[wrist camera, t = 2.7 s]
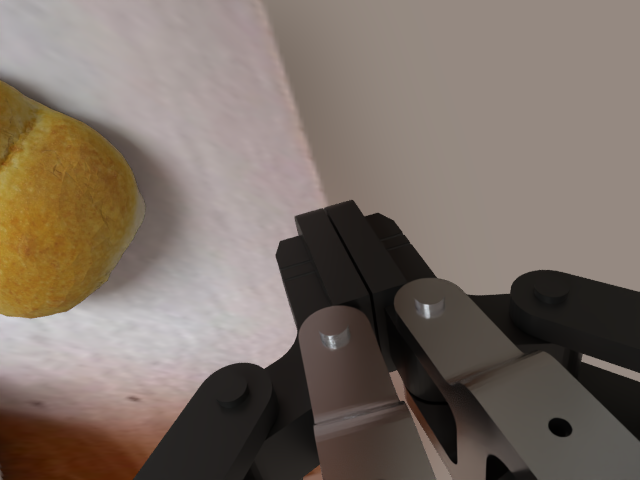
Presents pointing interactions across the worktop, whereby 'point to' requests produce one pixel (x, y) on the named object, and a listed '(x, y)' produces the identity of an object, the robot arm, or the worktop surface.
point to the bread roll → (58, 208)
